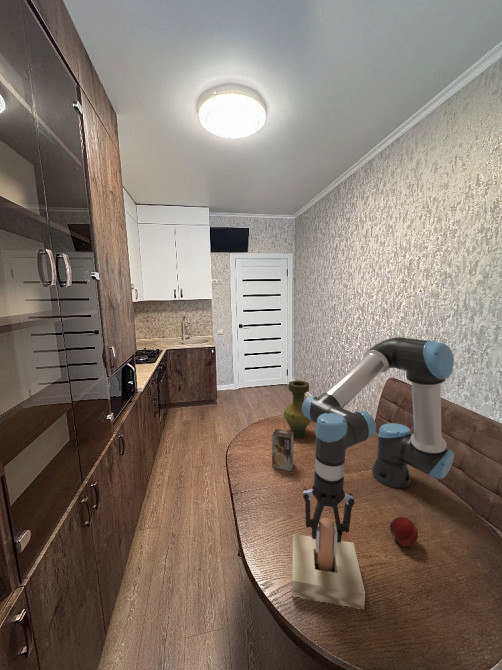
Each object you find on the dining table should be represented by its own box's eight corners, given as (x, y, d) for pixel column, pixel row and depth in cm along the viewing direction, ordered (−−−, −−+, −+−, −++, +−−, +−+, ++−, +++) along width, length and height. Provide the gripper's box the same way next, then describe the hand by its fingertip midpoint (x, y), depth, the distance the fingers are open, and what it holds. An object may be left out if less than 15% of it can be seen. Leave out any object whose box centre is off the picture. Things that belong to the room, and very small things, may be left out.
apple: (416, 557, 81) (419, 534, 80) (388, 544, 85) (389, 522, 84) (416, 538, 87) (419, 516, 86) (390, 527, 91) (391, 506, 90)
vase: (282, 426, 161) (283, 379, 157) (309, 427, 161) (310, 379, 156) (284, 441, 145) (285, 388, 141) (314, 442, 144) (316, 388, 140)
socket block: (352, 557, 81) (353, 542, 80) (364, 610, 67) (365, 593, 67) (292, 547, 84) (292, 533, 83) (291, 597, 70) (292, 580, 69)
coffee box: (294, 463, 126) (294, 431, 124) (290, 471, 120) (291, 438, 118) (275, 459, 129) (275, 428, 127) (271, 467, 123) (271, 434, 121)
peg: (331, 559, 77) (333, 518, 75) (333, 573, 73) (335, 531, 71) (316, 557, 77) (318, 516, 75) (318, 570, 73) (319, 528, 72)
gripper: (359, 467, 73) (354, 541, 77) (296, 460, 76) (294, 533, 79) (366, 486, 66) (360, 567, 69) (296, 478, 69) (294, 557, 72)
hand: (325, 549), depth 74 cm, fingers closed on peg, 4 cm apart
